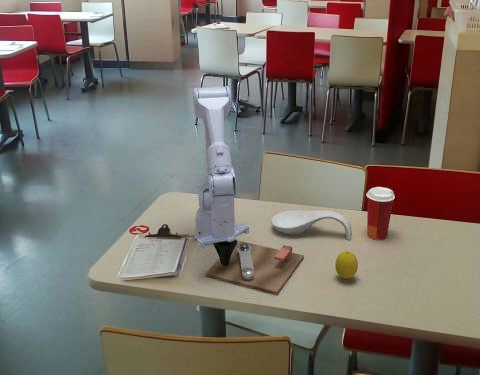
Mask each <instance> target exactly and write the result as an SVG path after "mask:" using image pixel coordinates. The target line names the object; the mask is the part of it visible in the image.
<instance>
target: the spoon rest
mask: <svg viewBox="0 0 480 375" xmlns="http://www.w3.org/2000/svg"><path fill="white" fill-rule="evenodd" d="M325 219H332V220H334V221H336V222H339V223H340V224H341V225H342V227H343V228H344V231H345V237H346V240H347V241H350V239H352V238H351V237H352V232H353V230H352V225H351V223H350V221H349V219H347V218H346V217H345V216H344V215H343V214H341V213H338V212H336V211H332V210H310V211H309V210H286V211H281V212H279V213H276V214H275V215H274V216H273V217H272V218H271V220H270V221H271V225H272V226H273V227H274V229H276V230H277V231H278V232H281V233H282V234H287V235H290V236H291V235H292V236H293V235H300V234H302V233H303V232H305V231H306V230H307V229H309V228H310V227H312V226H314V224H315V223H317V222H319V221H321V220H325Z"/></svg>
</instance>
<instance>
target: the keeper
mask: <svg viewBox="0 0 480 375" xmlns="http://www.w3.org/2000/svg"><path fill="white" fill-rule="evenodd" d="M278 250H279V251H278V253H277V254H276V255H275V256H274V259H276V260H280V261H284V259H286V260H291V258H292V253H293V246H289V245H285V244H283V245H282V247H281V248H279V249H278Z"/></svg>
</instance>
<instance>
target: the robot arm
mask: <svg viewBox="0 0 480 375" xmlns="http://www.w3.org/2000/svg"><path fill="white" fill-rule="evenodd" d="M232 103H233V102H232V90H231V88H230V87H229V86H228V85H225V86H213V87H212V86H211V87H194V88H193V90H192V104H193V112H194V116H195V117H196V118H198V119H201V121H202V123H203V127H204V128H203V129H204V141H205V142H204V145H205V158H206V162H205V163H206V173H207V174H206V175H207V176H206V177H205V178H204V179H202V180H201V181H200V182H199V183H198V191H197V193H198V194H197V196H198V207H199V208H197V210H196V213H195V217H194V218H195V237H194V239H195V240H197V247H198V248H200V249H201V250H204V249H206V247H207V246H210V245H213V247H214V249H215V251H216V253H217V255H218V260H219V259H220V262H221V264H222V265H224V266H227V265H229V262H230V258H231V255H232V252H233V250H234V248H235V246H236V245H237V241H238V240H237V239H236V237H238V236H241V235H242V234H244V235H247V234H249V233H250V226H249V225H247V224H246V223H244V224H239V225H238V224H237V225H236V223H235V222H236V221H235V220H236V219H235V218H236V217H235V216H236V215H235V195H236V194H237V179H236V174H235V170H234V167H233V165H232V157H231V149H230V146H229V145H227V144H226V143H225V120H224V119H225V117H227V116H229V114H230V110H231V108H232Z"/></svg>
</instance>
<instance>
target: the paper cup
mask: <svg viewBox="0 0 480 375" xmlns="http://www.w3.org/2000/svg"><path fill="white" fill-rule="evenodd" d="M366 197H367V221H366V222H367V223H366V226H367V227H366V233H367V237H368V238H369V239H372V240H375V241H382V240H385V239H386V238H387V236H388V233H389V227H390V221H391V217H392V216H391V214H392V208H393V204H394V199H395V197H396V196H395V193H394V191H393V190H392V189H390V188H388V187H382V186H376V187H372V188H370V189H369V190H368V191H367V192H366Z"/></svg>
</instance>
